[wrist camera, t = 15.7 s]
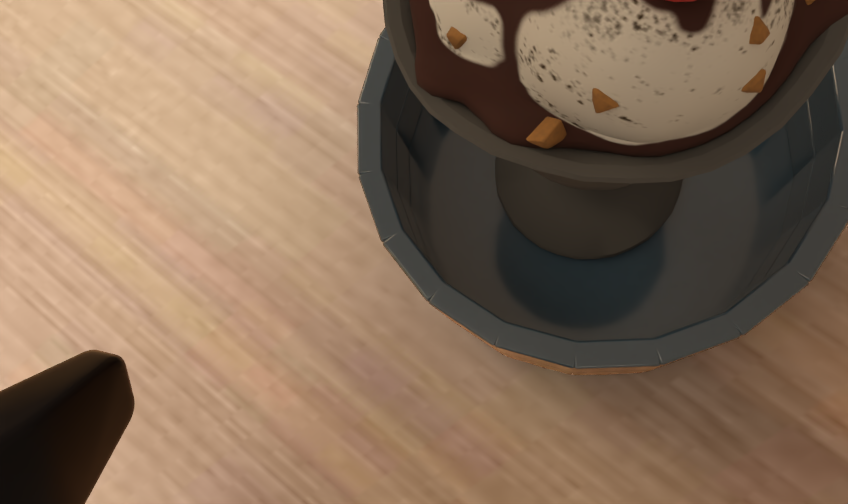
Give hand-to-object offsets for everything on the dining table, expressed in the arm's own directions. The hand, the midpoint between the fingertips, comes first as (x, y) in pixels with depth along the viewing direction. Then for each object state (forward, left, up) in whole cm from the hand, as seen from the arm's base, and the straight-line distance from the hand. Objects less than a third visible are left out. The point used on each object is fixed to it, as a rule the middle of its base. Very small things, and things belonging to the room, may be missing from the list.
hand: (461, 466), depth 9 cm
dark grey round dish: (+4, -6, -11) cm, 14 cm away
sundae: (+4, -6, -11) cm, 13 cm away
